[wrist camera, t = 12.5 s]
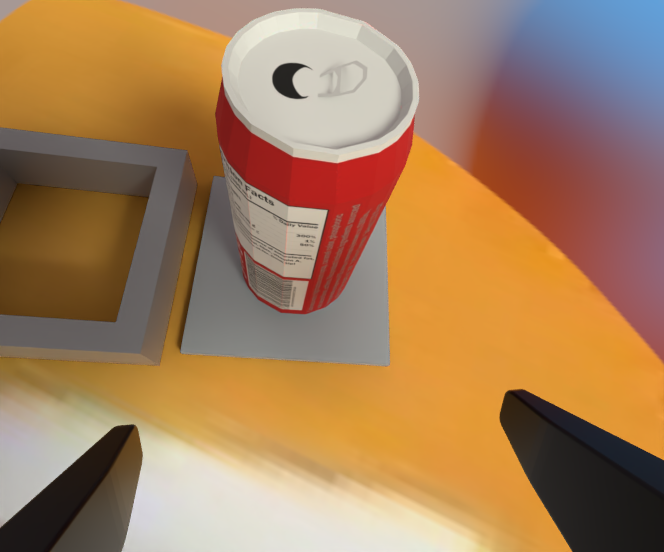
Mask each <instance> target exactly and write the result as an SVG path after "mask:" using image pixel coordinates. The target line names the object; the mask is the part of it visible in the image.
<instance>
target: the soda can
mask: <svg viewBox="0 0 664 552" xmlns="http://www.w3.org/2000/svg"><path fill="white" fill-rule="evenodd" d="M221 67H222V75H223V77H222V82H221V87H220V92H219V97H218V102H217V107H216V112H215V116H216V125H217V134H218V140H219V146H220V151H221V157H222V162H223V168H224V173H225V179H226V184H227V190H228V195H229V201H230V206H231V212H232V217H233V223H234V228H235V234H236V239H237V244H238V250H239V255H240V261H241V266H242V272H243V277H244V279H245V282H246V284H247V286H248V288H249V289H250V290H251V292H252V293H253V294H254V295H255V296H256V298H257V299H258V300H259V301H261V302H263V303H265V304H266V305H268V306H270V307H272V308H273V309H275V310H277V311H278V312H280V313H291V314H308V313H311V312H314V311H316V310H319V309H322V308H325V307H327V306H328V305H329V304H330V303H332V302H333V301H334V300H336V299H337V298H338V297H339V295H340V294H341V293H342V291H343V290H344V288H345V286H346V284H347V282H348V280H349V278H350V276H351V274H352V272H353V270H354V268H355V266H356V264H357V262H358V260H359V258H360V256H361V254H362V252H363V250H364V248H365V246H366V244H367V242H368V240H369V238H370V236H371V234H372V232H373V230H374V228H375V226H376V224H377V222H378V219H379V217H380V215H381V213H382V211H383V209H384V207H385V205H386V203H387V201H388V199H389V197H390V195H391V193H392V191H393V189H394V187H395V185H396V183H397V181H398V179H399V177H400V175H401V173H402V171H403V169H404V167H405V164H406V161H407V158H408V155H409V152H410V149H411V146H412V139H413V129H414V117H415V111H416V108H417V105H418V102H419V84H418V83H419V82H418V79H417V77H416V74H415V71H414V69H413V66H412V63H411V62H410V61H409V59H408V58H407V57H406V55H405V54H404V52H403V51H402V50H401V48H400V47H399V46H398V45H396V44H395V43H394V42H392V41H391V40H389V39H388V38H387V37H385V36H384V35H383V34H381V33H380V32H379V31H377V30H376V29H375V28H373V27H372V26H370V25H369V24H368V23H366V22H364V21H360V20H357V19H354V18H350V17H347V16H343V15H339V14H336V13H332V12H329V11H325V10H322V9H307V8H295V9H288V10H282V11H276V12H272V13H269V14H267V15H264V16H262V17H259V18H257V19H254V20H252V21H251V22H250V23H248V24H247V25H246V26H245V27H243V28H242V29H240V30H239V31H238V32H237V33H236V34H235V36H234V37H233V38H232V40H231V41H230V42H229V44H228V45H227V47H226V50H225V54H224V57H223V61H222V65H221Z"/></svg>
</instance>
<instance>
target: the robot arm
mask: <svg viewBox="0 0 664 552" xmlns="http://www.w3.org/2000/svg"><path fill="white" fill-rule="evenodd" d="M500 422H501V425H502V427H503V429H504V431H505V433H506V435H507V437H508V439H509V441H510V443H511V445H512V448H513V450H514V452H515V454H516V456H517V458H518V460H519V462H520V464H521V466H522V468H523V470H524V472H525V474H526V475H527V477H528V479H529V481H530V483H531V485H532V486H533V488H534V490H535V491H536V493H537V495H538V496H539V498H540V500H541V501H542V503H543V504H544V506H545V508H546V509H547V511H548V513H549V514H550V516H551V518H552V519H553V521H554V522H555V524H556V526H557V527H558V529H559V531H560V532H561V534H562V535H563V537H564V539H565V540H566V542H567V544H568V545H569V547H570V549H571V550H572V552H664V460H662V459H660V458H658V457H656V456H654V455H652V454H650V453H648V452H646V451H644V450H642V449H640V448H638V447H636V446H635V445H633V444H631V443H629V442H627V441H625V440H623V439H621V438H619V437H617V436H615V435H613V434H611V433H609V432H607V431H605V430H603V429H601V428H599V427H597V426H595V425H593V424H591V423H589V422H587V421H585V420H583V419H581V418H579V417H577V416H575V415H573V414H571V413H569V412H567V411H565V410H563V409H561V408H559V407H557V406H555V405H553V404H551V403H549V402H547V401H545V400H543V399H541V398H540V397H538V396H536V395H534V394H532V393H530V392H528V391H526V390H523V389H516V390H509V391H507V392H506V393H505V396H504V400H503V403H502V407H501V411H500ZM142 457H143V454H142V448H141V443H140V438H139V433H138V428H137V427H136V425H133V424H131V425H120V426H116V427H114V428H112V429H111V430H110V431H109V432H108V433H107V434H106V435H104V436H103V437H102V438H101V439H100V440H99V441H98V442H97V443H95V444H94V445H93V446H92V447H91V448H90V449H89V450H88V451H86V452H85V453H84V454H83V455H82V456H81V457H80V458H79V459H77V460H76V461H75V462H74V463H73V464H72V465H71V466H69V467H68V468H67V469H66V470H65V471H64V472H63V473H62V474H60V475H59V476H58V477H57V478H56V479H55V480H54V481H53V482H51V483H50V484H49V485H48V486H47V487H46V488H45V489H43V490H42V491H41V492H40V493H39V494H38V495H37V496H36V497H34V498H33V499H32V500H31V501H30V502H29V503H28V504H27V505H25V506H24V507H23V508H22V509H21V510H20V511H19V512H17V513H16V514H15V515H14V516H13V517H12V518H11V519H10V520H8V521H7V522H6V523H5V524H4V525H3V526H2V527H1V528H0V552H122V548H123V545H124V542H125V538H126V535H127V530H128V526H129V522H130V517H131V512H132V508H133V503H134V498H135V493H136V489H137V484H138V479H139V475H140V470H141V465H142Z"/></svg>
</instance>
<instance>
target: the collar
mask: <svg viewBox="0 0 664 552" xmlns="http://www.w3.org/2000/svg"><path fill="white" fill-rule="evenodd" d="M17 183H21V184H30V185H40V186H49V187H58V188H68V189H77V190H86V191H96V192H105V193H115V194H124V195H133V196H143V197H149V200H148V203H147V207H146V211H145V215H144V218H143V222H142V226H141V230H140V233H139V237H138V241H137V245H136V249H135V252H134V256H133V260H132V264H131V267H130V271H129V275H128V279H127V282H126V286H125V290H124V294H123V297H122V301H121V305H120V309H119V313H118V316H117V320H116V322H103V321H88V320H74V319H59V318H44V317H30V316H15V315H0V357H12V358H30V359H48V360H66V361H84V362H102V363H120V364H138V365H156V366H159V365H160V361H161V356H162V351H163V346H164V341H165V337H166V332H167V327H168V322H169V318H170V313H171V308H172V303H173V298H174V294H175V289H176V284H177V279H178V275H179V270H180V265H181V260H182V255H183V251H184V246H185V241H186V236H187V232H188V227H189V222H190V217H191V212H192V208H193V203H194V198H195V193H196V189H197V181H196V178H195V174H194V171H193V168H192V164H191V161H190V158H189V154H188V151H187V150H180V149H172V148H164V147H156V146H147V145H139V144H131V143H123V142H115V141H107V140H98V139H90V138H82V137H74V136H66V135H58V134H49V133H41V132H33V131H25V130H17V129H8V128H0V222H1V220H2V218H3V215H4V213H5V211H6V209H7V206H8V204H9V202H10V199H11V197H12V195H13V192H14V190H15V188H16V186H17Z"/></svg>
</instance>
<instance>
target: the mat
mask: <svg viewBox="0 0 664 552" xmlns="http://www.w3.org/2000/svg"><path fill="white" fill-rule="evenodd" d="M180 353H181V354H191V355H208V356H225V357H241V358H258V359H275V360H292V361H308V362H325V363H342V364H358V365H375V366H389V365H390V350H389V312H388V275H387V237H386V205H385V207H384V209H383V211H382V213H381V215H380V217H379V219H378V222H377V224H376V226H375V228H374V230H373V232H372V234H371V236H370V238H369V240H368V242H367V244H366V246H365V248H364V250H363V252H362V254H361V256H360V258H359V260H358V262H357V264H356V266H355V268H354V270H353V272H352V274H351V276H350V278H349V280H348V282H347V284H346V286H345V288H344V290H343V291H342V293H341V294H340V295H339V297H338V298H337V299H336V300H334V301H333V302H332V303H330V304H329V305H328V306H327V307H325V308H322V309H319V310H316V311H314V312H311V313H308V314H291V313H280V312H278V311H277V310H275V309H273V308H272V307H270V306H268V305H266V304H265V303H263V302H261V301H259V300H258V299H257V298H256V296H255V295H254V294H253V293H252V292H251V290H250V289H249V288H248V286H247V284H246V282H245V279H244V277H243V272H242V266H241V261H240V255H239V250H238V244H237V239H236V234H235V228H234V223H233V217H232V212H231V206H230V201H229V195H228V190H227V184H226V179H225V177H219V176H214V177H213V182H212V188H211V193H210V198H209V203H208V209H207V214H206V219H205V224H204V230H203V235H202V240H201V245H200V251H199V256H198V261H197V266H196V272H195V277H194V282H193V287H192V293H191V298H190V303H189V308H188V314H187V319H186V324H185V329H184V335H183V340H182V345H181V350H180Z"/></svg>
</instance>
